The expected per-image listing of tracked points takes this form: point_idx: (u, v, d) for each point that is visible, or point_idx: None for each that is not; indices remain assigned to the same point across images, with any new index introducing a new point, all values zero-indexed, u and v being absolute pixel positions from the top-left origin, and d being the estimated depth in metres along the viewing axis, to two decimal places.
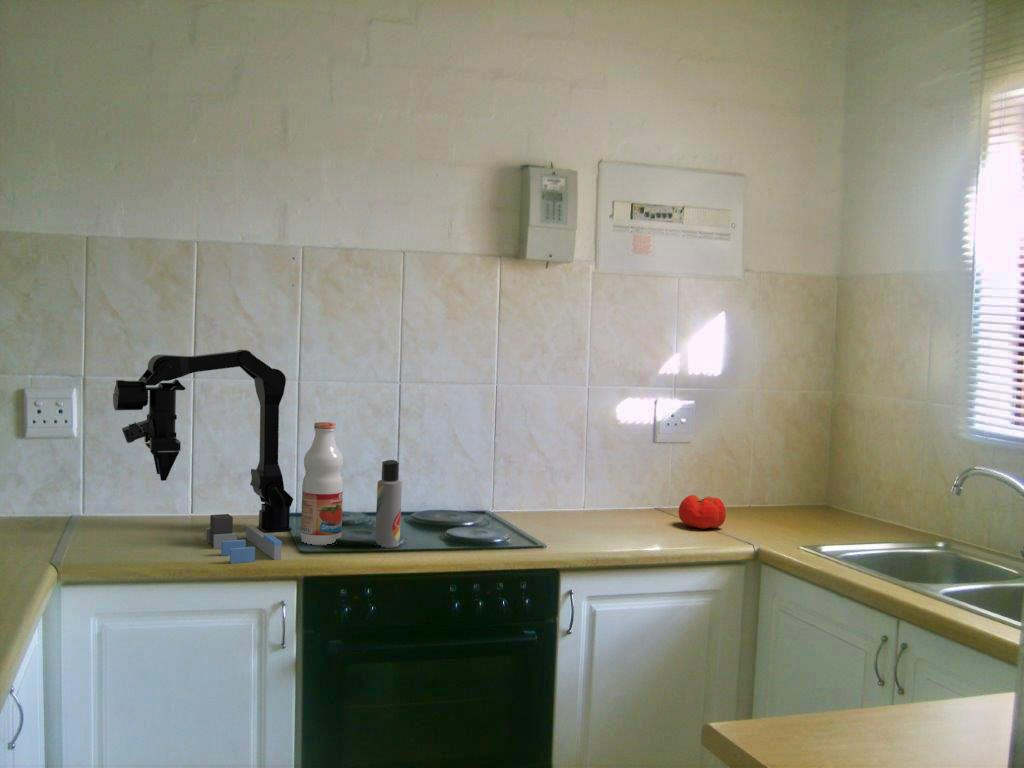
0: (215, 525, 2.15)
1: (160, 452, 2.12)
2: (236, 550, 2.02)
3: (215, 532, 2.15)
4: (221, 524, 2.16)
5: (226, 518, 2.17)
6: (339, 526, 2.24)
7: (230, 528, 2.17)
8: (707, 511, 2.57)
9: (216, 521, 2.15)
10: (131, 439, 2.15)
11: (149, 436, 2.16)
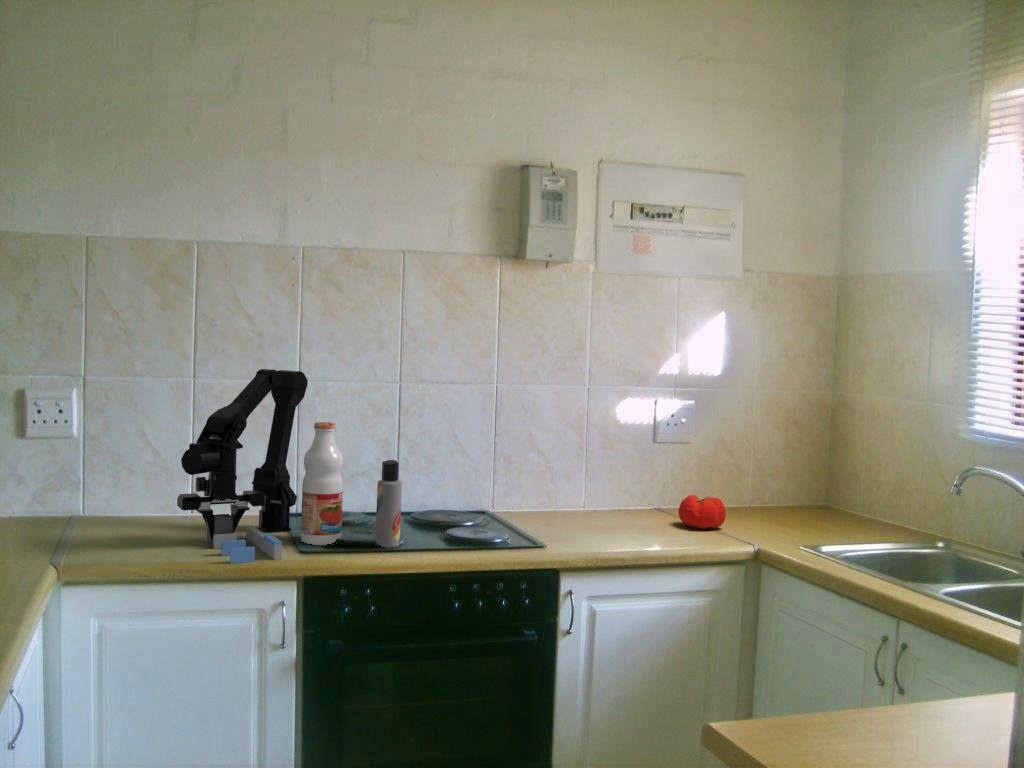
0: (215, 525, 2.15)
1: None
2: (236, 550, 2.02)
3: (215, 532, 2.15)
4: (221, 524, 2.16)
5: (226, 518, 2.17)
6: (339, 526, 2.24)
7: (230, 528, 2.17)
8: (707, 511, 2.57)
9: (216, 521, 2.15)
10: (204, 493, 2.22)
11: (206, 493, 2.19)
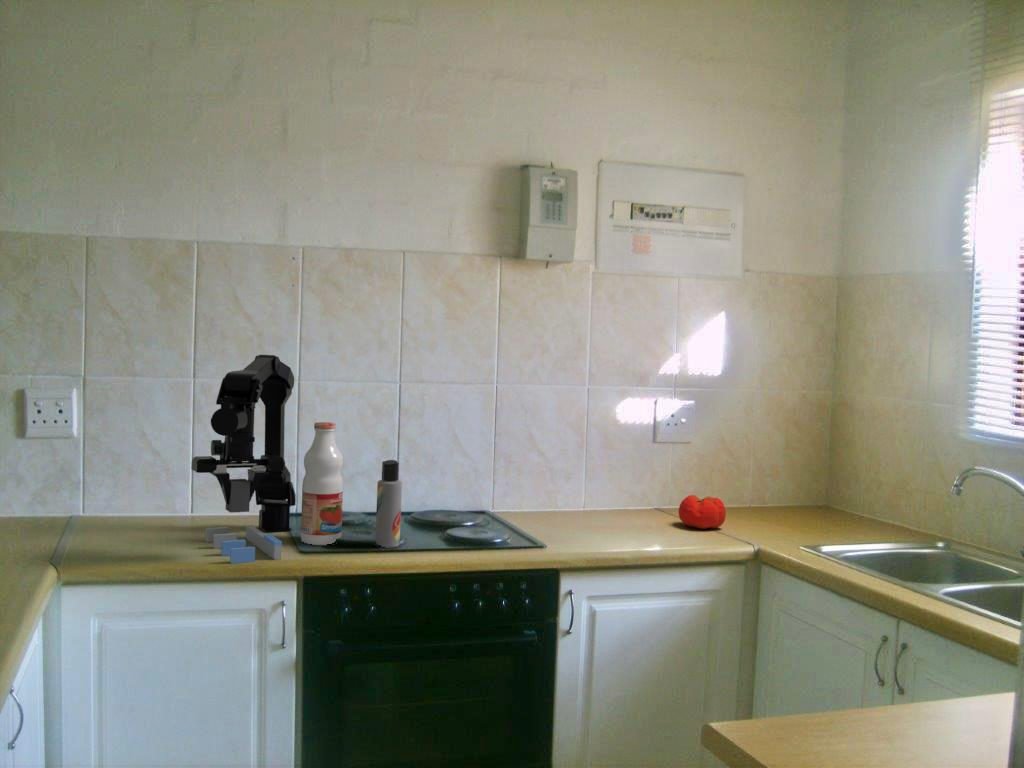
0: (231, 489, 2.03)
1: None
2: (236, 550, 2.02)
3: (231, 497, 2.03)
4: (238, 488, 2.04)
5: (243, 482, 2.04)
6: (339, 526, 2.24)
7: (247, 493, 2.05)
8: (707, 511, 2.57)
9: (232, 485, 2.03)
10: None
11: (222, 456, 2.07)
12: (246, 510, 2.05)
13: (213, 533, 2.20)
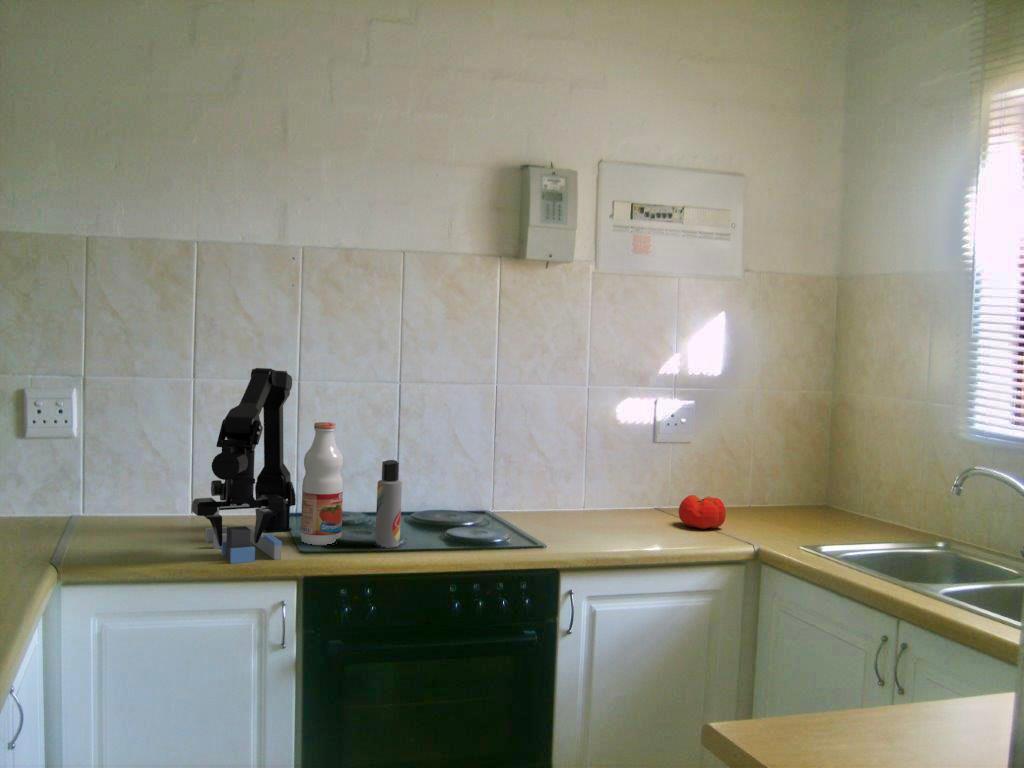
0: (232, 538, 2.03)
1: None
2: (236, 550, 2.02)
3: (232, 546, 2.04)
4: (238, 537, 2.04)
5: (243, 531, 2.05)
6: (339, 526, 2.24)
7: (248, 541, 2.05)
8: (707, 511, 2.57)
9: (233, 534, 2.03)
10: (220, 497, 2.10)
11: (222, 497, 2.07)
12: None
13: (213, 533, 2.20)
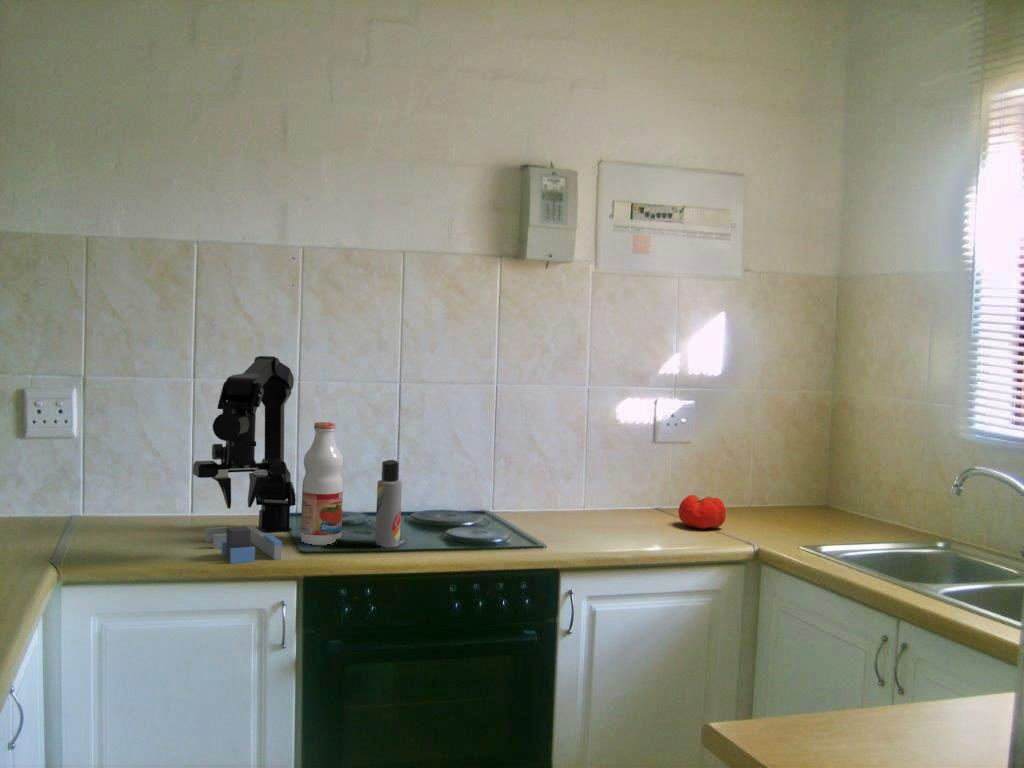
0: (232, 538, 2.03)
1: None
2: (236, 550, 2.02)
3: (232, 546, 2.04)
4: (238, 537, 2.04)
5: (243, 531, 2.05)
6: (339, 526, 2.24)
7: (248, 541, 2.05)
8: (707, 511, 2.57)
9: (233, 534, 2.03)
10: (221, 461, 2.10)
11: (223, 460, 2.06)
12: None
13: (213, 533, 2.20)
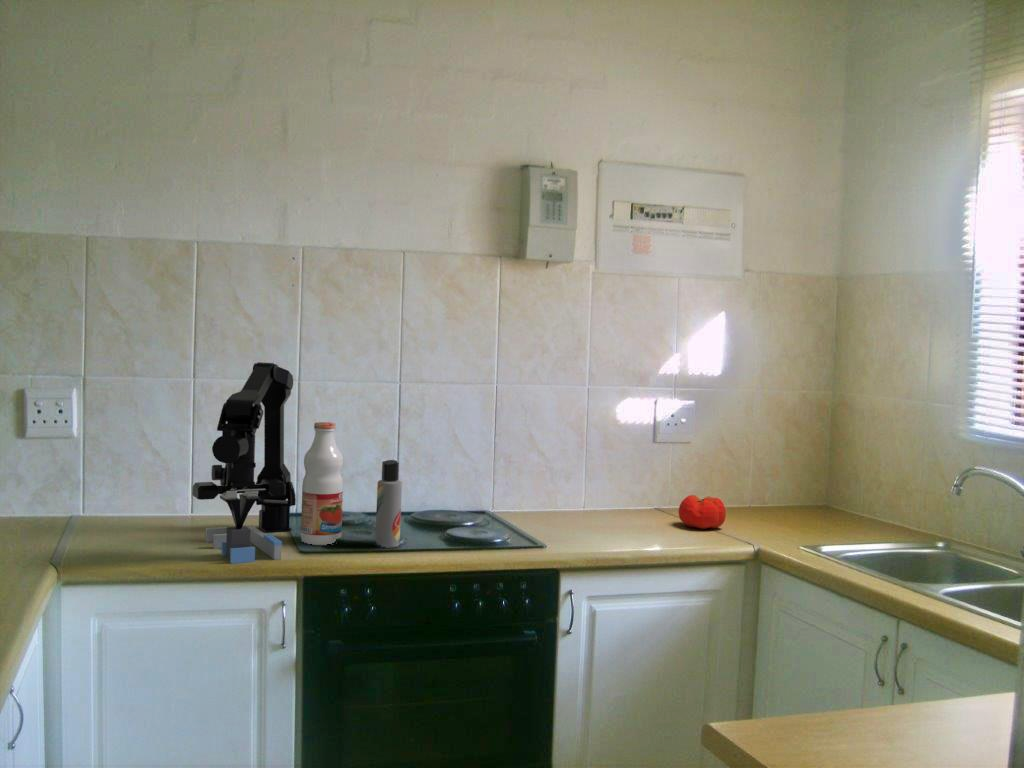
0: (232, 538, 2.03)
1: (221, 497, 2.05)
2: (236, 550, 2.02)
3: (232, 546, 2.04)
4: (238, 537, 2.04)
5: (243, 531, 2.05)
6: (339, 526, 2.24)
7: (248, 541, 2.05)
8: (707, 511, 2.57)
9: (233, 534, 2.03)
10: (220, 482, 2.10)
11: (222, 481, 2.06)
12: None
13: (213, 533, 2.20)
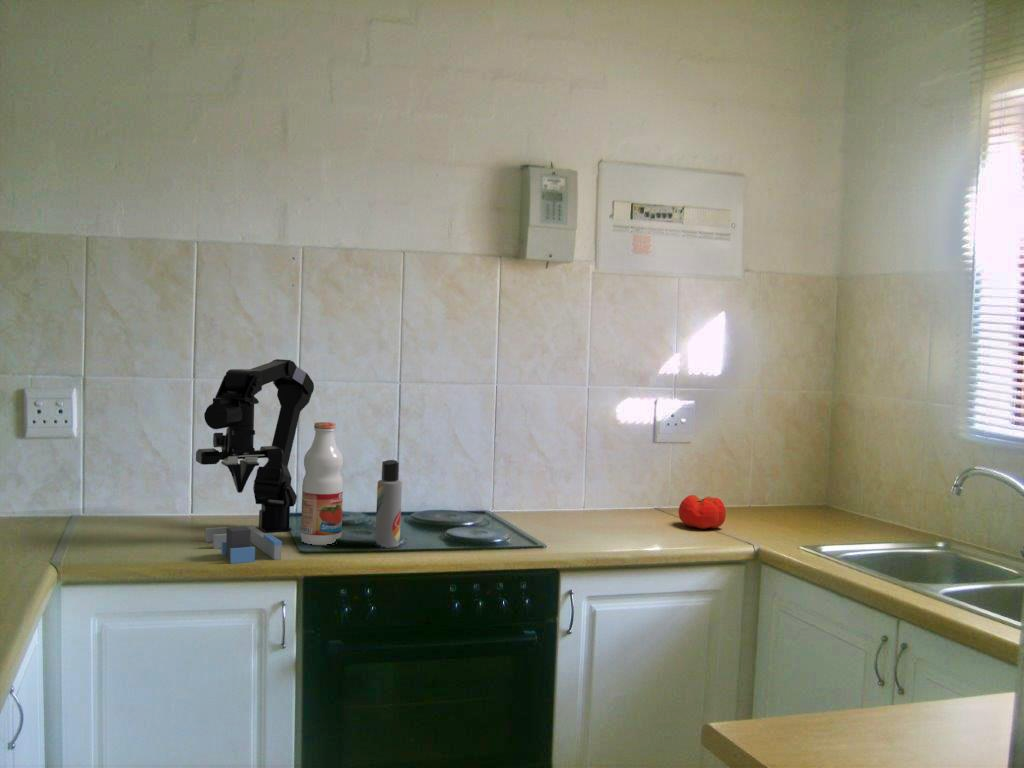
0: (232, 538, 2.03)
1: (223, 462, 2.18)
2: (236, 550, 2.02)
3: (232, 546, 2.04)
4: (238, 537, 2.04)
5: (243, 531, 2.05)
6: (339, 526, 2.24)
7: (248, 541, 2.05)
8: (707, 511, 2.57)
9: (233, 534, 2.03)
10: (221, 448, 2.23)
11: (224, 448, 2.20)
12: None
13: (213, 533, 2.20)
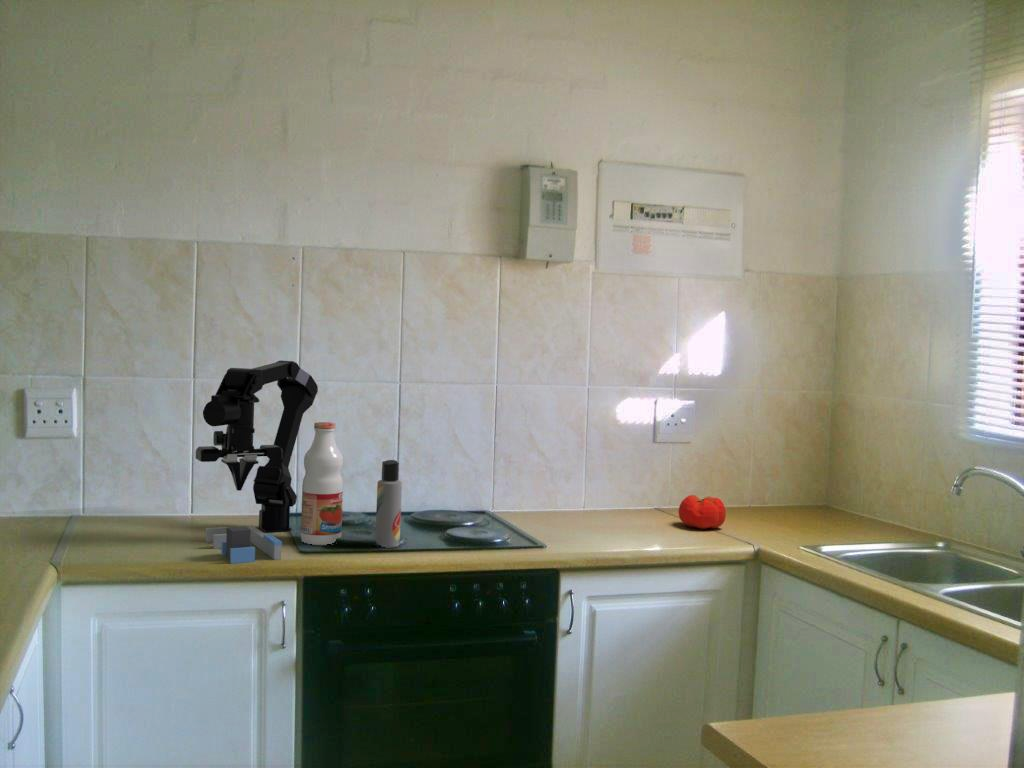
0: (232, 538, 2.03)
1: (222, 460, 2.19)
2: (236, 550, 2.02)
3: (232, 546, 2.04)
4: (238, 537, 2.04)
5: (243, 531, 2.05)
6: (339, 526, 2.24)
7: (248, 541, 2.05)
8: (707, 511, 2.57)
9: (233, 534, 2.03)
10: None
11: (224, 446, 2.21)
12: None
13: (213, 533, 2.20)
